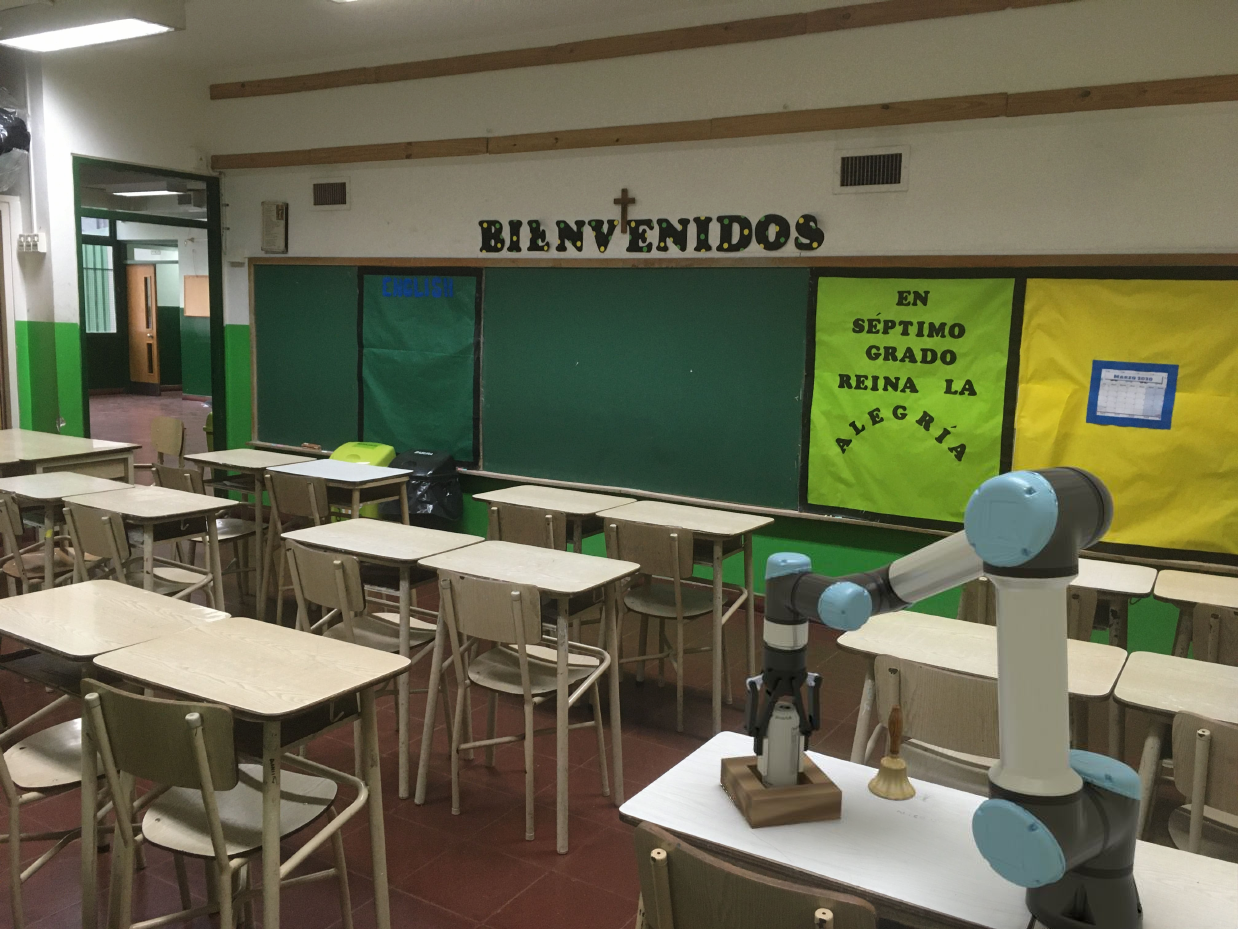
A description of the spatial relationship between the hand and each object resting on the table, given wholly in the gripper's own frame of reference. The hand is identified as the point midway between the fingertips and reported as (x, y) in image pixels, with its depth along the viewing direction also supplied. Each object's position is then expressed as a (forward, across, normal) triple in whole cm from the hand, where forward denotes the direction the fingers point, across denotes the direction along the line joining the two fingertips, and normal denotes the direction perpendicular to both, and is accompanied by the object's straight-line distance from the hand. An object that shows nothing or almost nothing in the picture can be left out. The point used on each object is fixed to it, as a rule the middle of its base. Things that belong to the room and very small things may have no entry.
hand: (780, 770), depth 170 cm
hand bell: (+6, -22, 0) cm, 23 cm away
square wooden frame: (+6, 0, 0) cm, 6 cm away
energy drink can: (+4, 0, 0) cm, 4 cm away
